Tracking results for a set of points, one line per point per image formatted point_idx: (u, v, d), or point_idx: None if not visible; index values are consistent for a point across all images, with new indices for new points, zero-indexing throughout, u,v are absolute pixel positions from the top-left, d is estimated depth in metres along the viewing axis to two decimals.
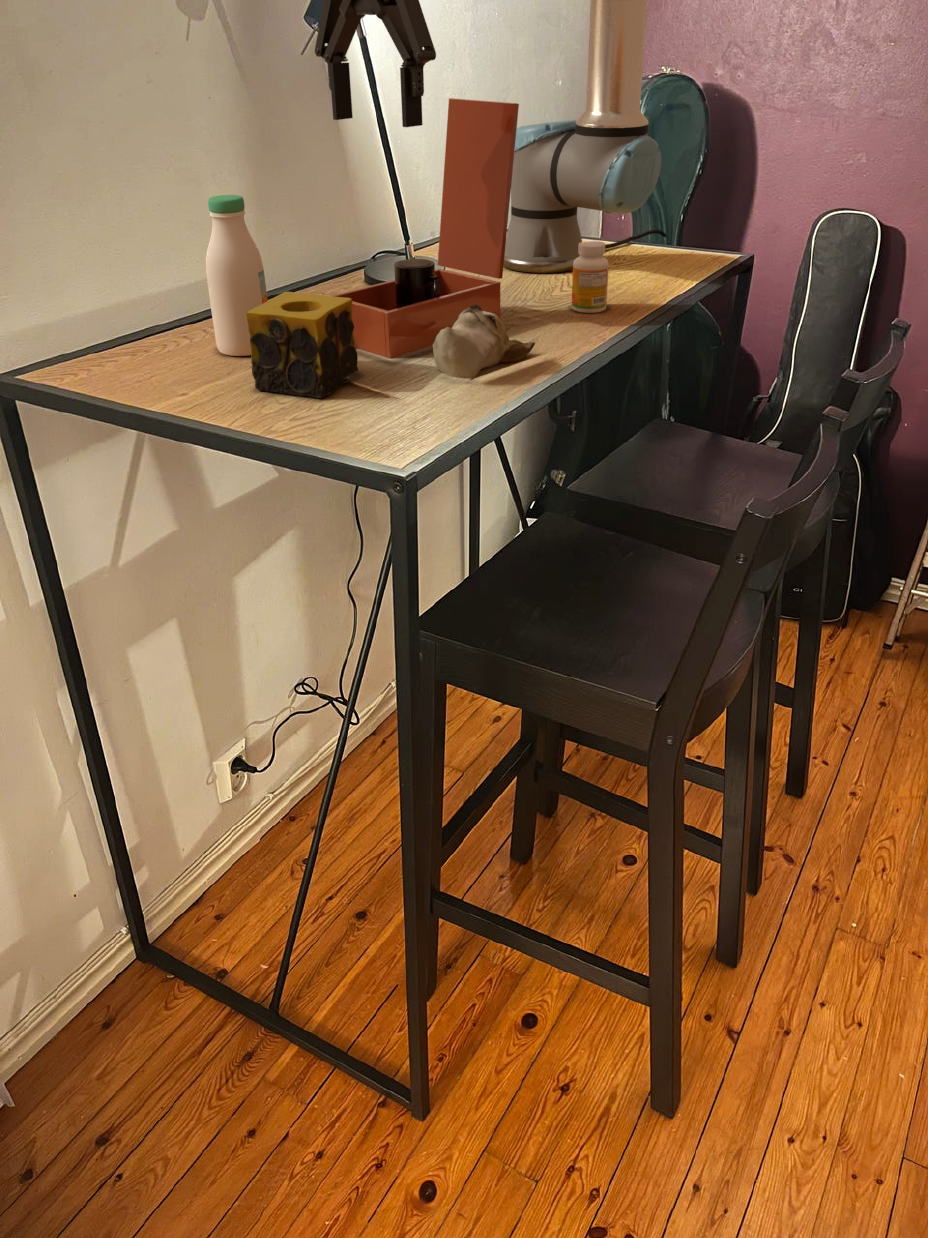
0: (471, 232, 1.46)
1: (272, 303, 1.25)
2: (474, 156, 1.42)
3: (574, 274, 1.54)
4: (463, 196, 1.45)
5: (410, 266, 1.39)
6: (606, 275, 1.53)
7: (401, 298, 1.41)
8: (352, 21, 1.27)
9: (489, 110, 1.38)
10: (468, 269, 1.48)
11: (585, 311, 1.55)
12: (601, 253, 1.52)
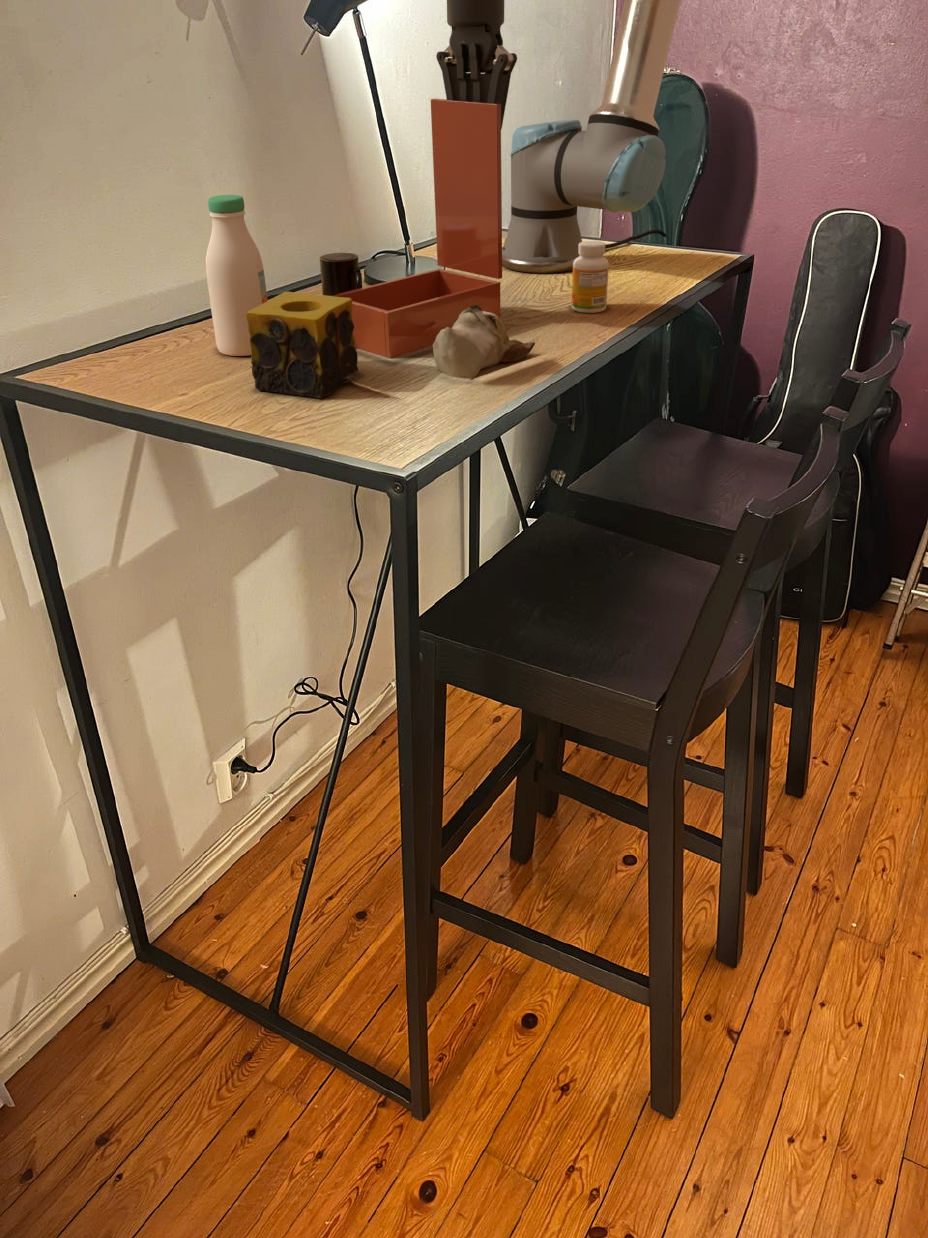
0: (466, 233, 1.45)
1: (272, 303, 1.25)
2: (462, 157, 1.40)
3: (574, 274, 1.54)
4: (455, 198, 1.44)
5: (334, 259, 1.46)
6: (606, 275, 1.53)
7: (327, 290, 1.49)
8: (472, 83, 1.37)
9: (472, 111, 1.36)
10: (468, 270, 1.48)
11: (585, 311, 1.55)
12: (601, 253, 1.52)
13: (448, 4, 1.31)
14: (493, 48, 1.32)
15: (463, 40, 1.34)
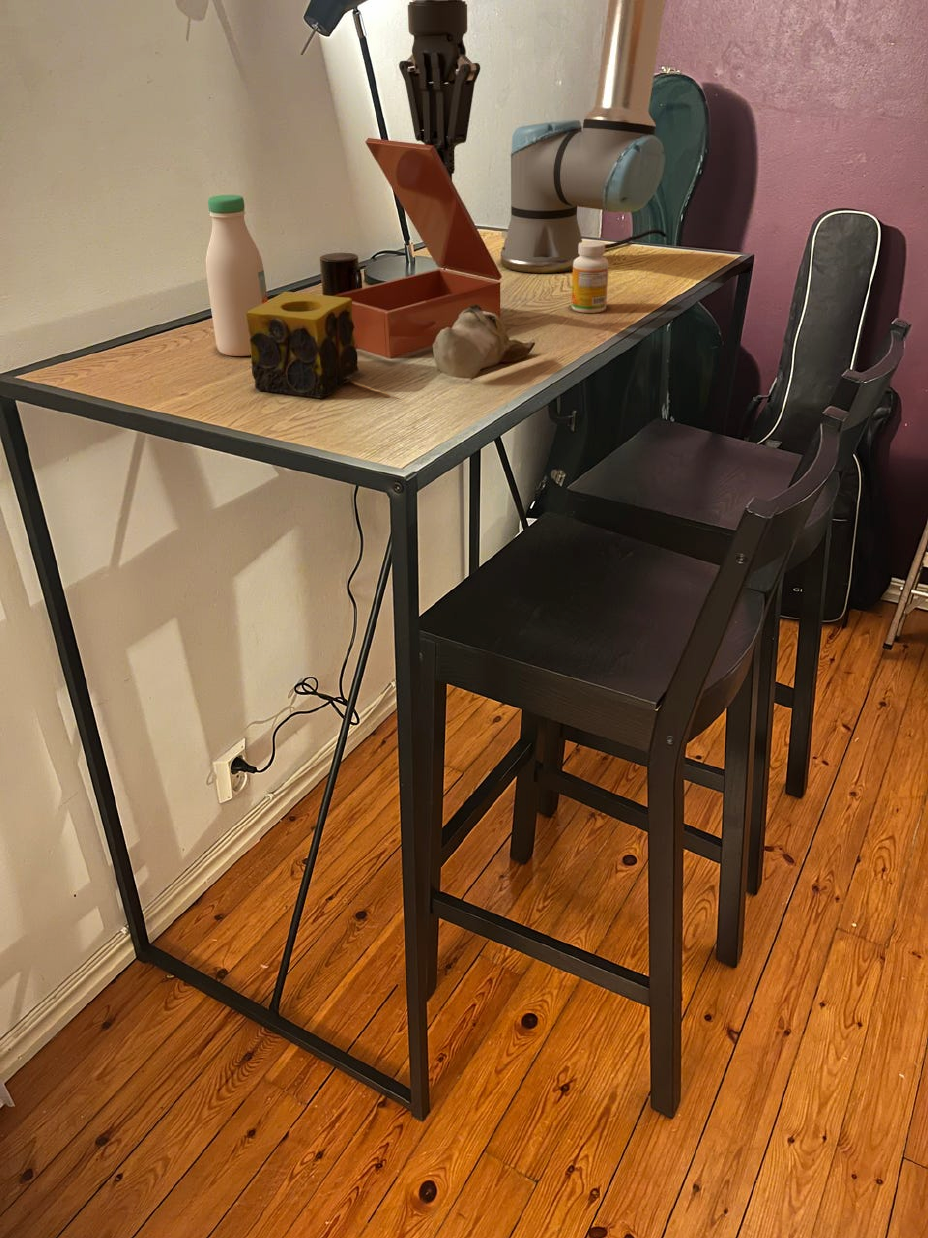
0: (452, 245, 1.44)
1: (272, 303, 1.25)
2: (418, 188, 1.37)
3: (574, 274, 1.54)
4: (428, 218, 1.42)
5: (334, 259, 1.46)
6: (606, 275, 1.53)
7: (327, 290, 1.49)
8: (435, 93, 1.33)
9: (409, 154, 1.31)
10: (467, 272, 1.48)
11: (585, 311, 1.55)
12: (601, 253, 1.52)
13: (409, 12, 1.27)
14: (455, 58, 1.28)
15: (425, 49, 1.30)
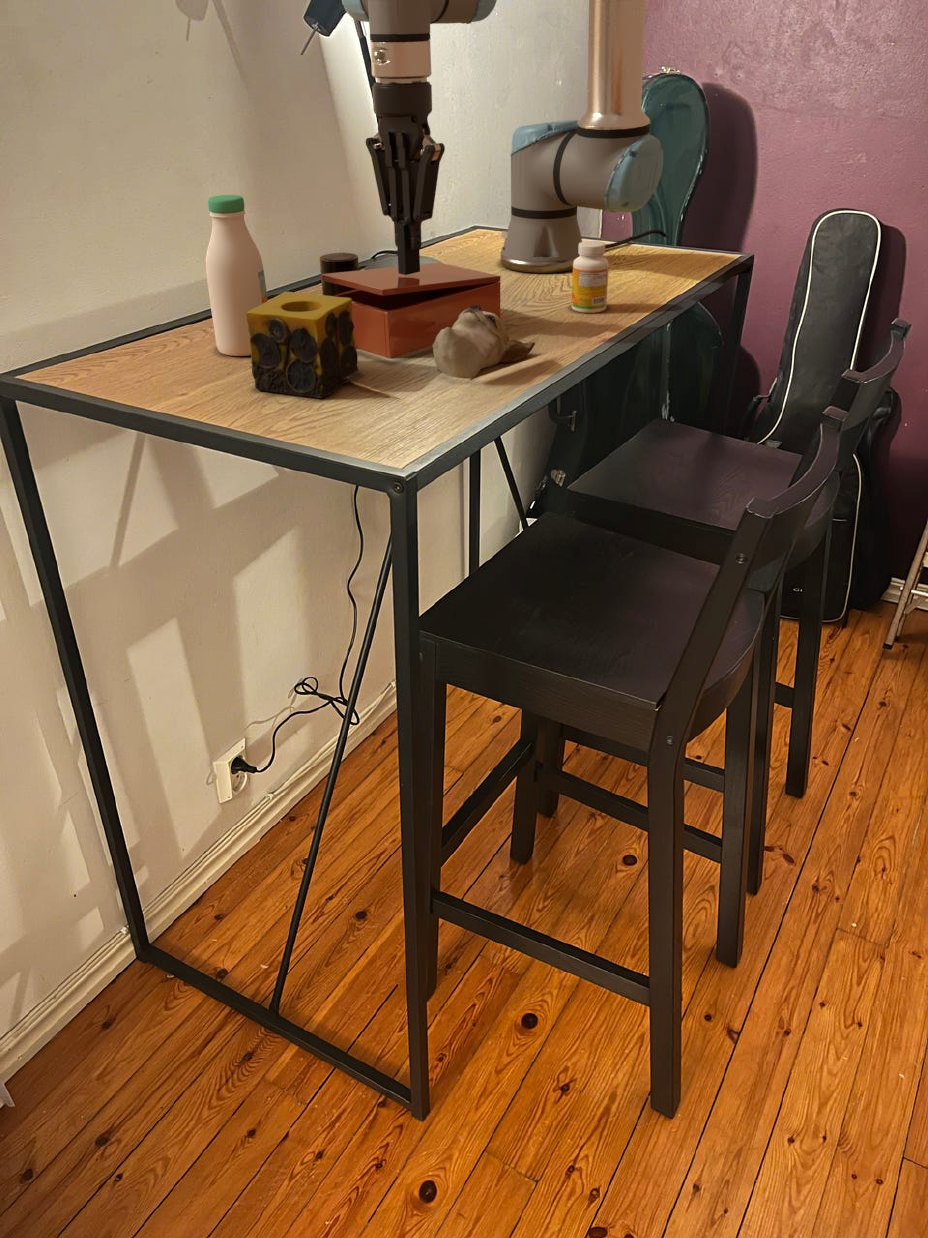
0: None
1: (272, 303, 1.25)
2: None
3: (574, 274, 1.54)
4: None
5: (334, 259, 1.46)
6: (606, 275, 1.53)
7: (327, 290, 1.49)
8: (401, 170, 1.34)
9: None
10: None
11: (585, 311, 1.55)
12: (601, 253, 1.52)
13: (373, 94, 1.28)
14: (420, 138, 1.29)
15: (390, 128, 1.31)
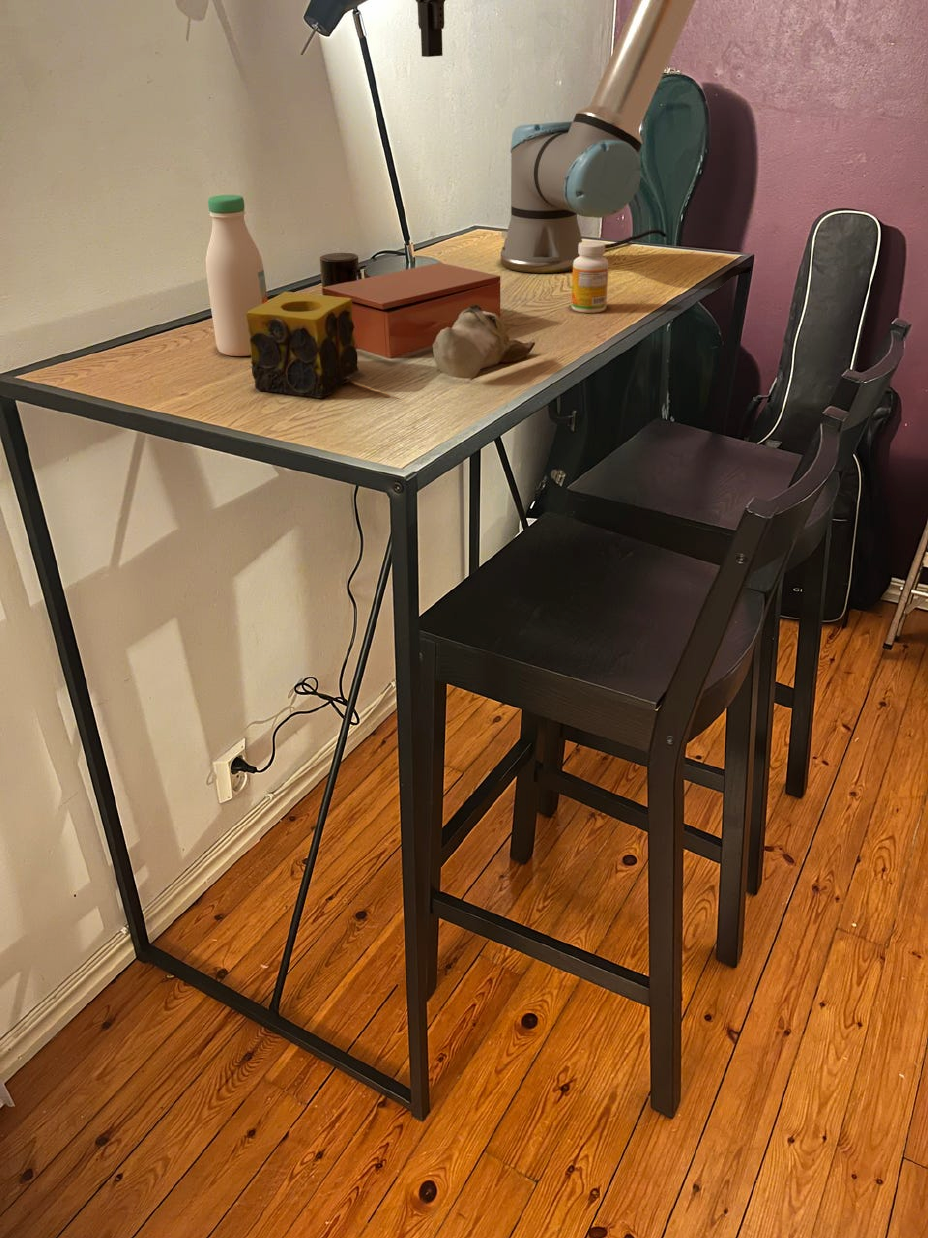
0: None
1: (272, 303, 1.25)
2: None
3: (574, 274, 1.54)
4: None
5: (334, 259, 1.46)
6: (606, 275, 1.53)
7: None
8: None
9: None
10: None
11: (585, 311, 1.55)
12: (601, 253, 1.52)
13: None
14: None
15: None
